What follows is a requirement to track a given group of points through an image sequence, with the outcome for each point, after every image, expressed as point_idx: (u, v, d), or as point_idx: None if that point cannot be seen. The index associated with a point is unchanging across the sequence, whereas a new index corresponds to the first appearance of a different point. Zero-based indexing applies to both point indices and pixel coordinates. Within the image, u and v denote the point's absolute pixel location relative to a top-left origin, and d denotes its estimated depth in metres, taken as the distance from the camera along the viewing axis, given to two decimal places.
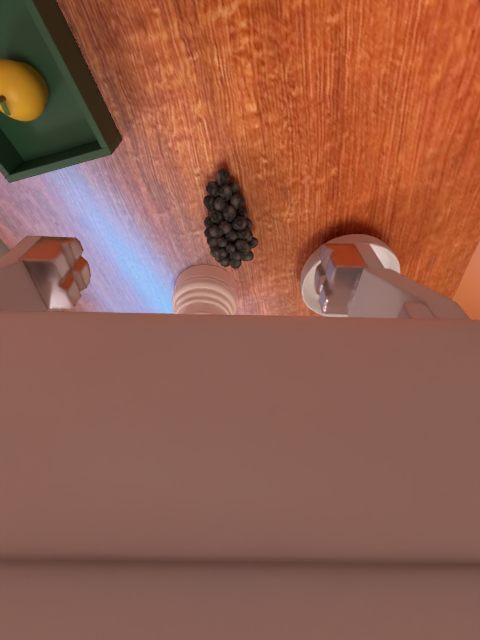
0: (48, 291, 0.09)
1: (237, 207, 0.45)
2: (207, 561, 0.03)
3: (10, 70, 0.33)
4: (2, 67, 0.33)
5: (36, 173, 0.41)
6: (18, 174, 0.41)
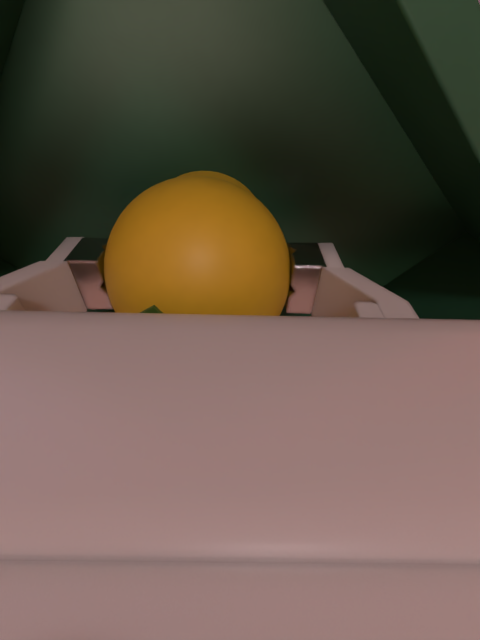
0: (90, 292, 0.09)
1: None
2: (208, 561, 0.03)
3: None
4: None
5: None
6: None
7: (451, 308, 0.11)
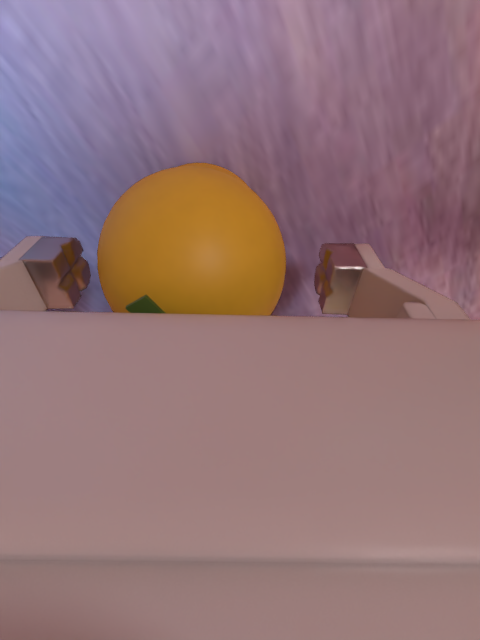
0: (48, 291, 0.09)
1: None
2: (207, 560, 0.03)
3: None
4: None
5: None
6: None
7: None
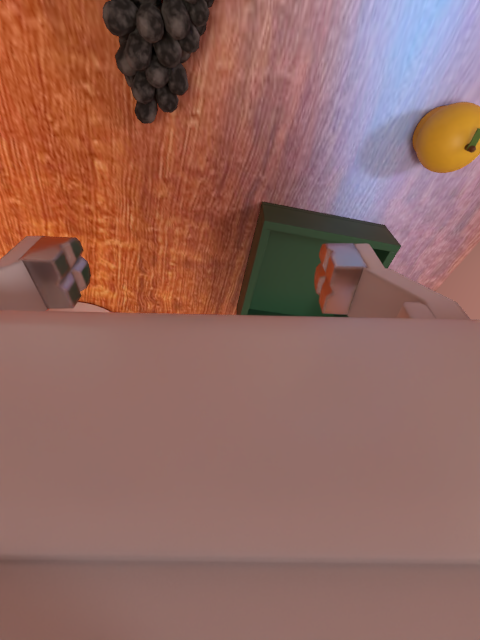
0: (48, 291, 0.09)
1: (124, 50, 0.24)
2: (208, 561, 0.03)
3: (434, 167, 0.30)
4: (439, 170, 0.30)
5: (362, 240, 0.34)
6: (381, 248, 0.35)
7: None
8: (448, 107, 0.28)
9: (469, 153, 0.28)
